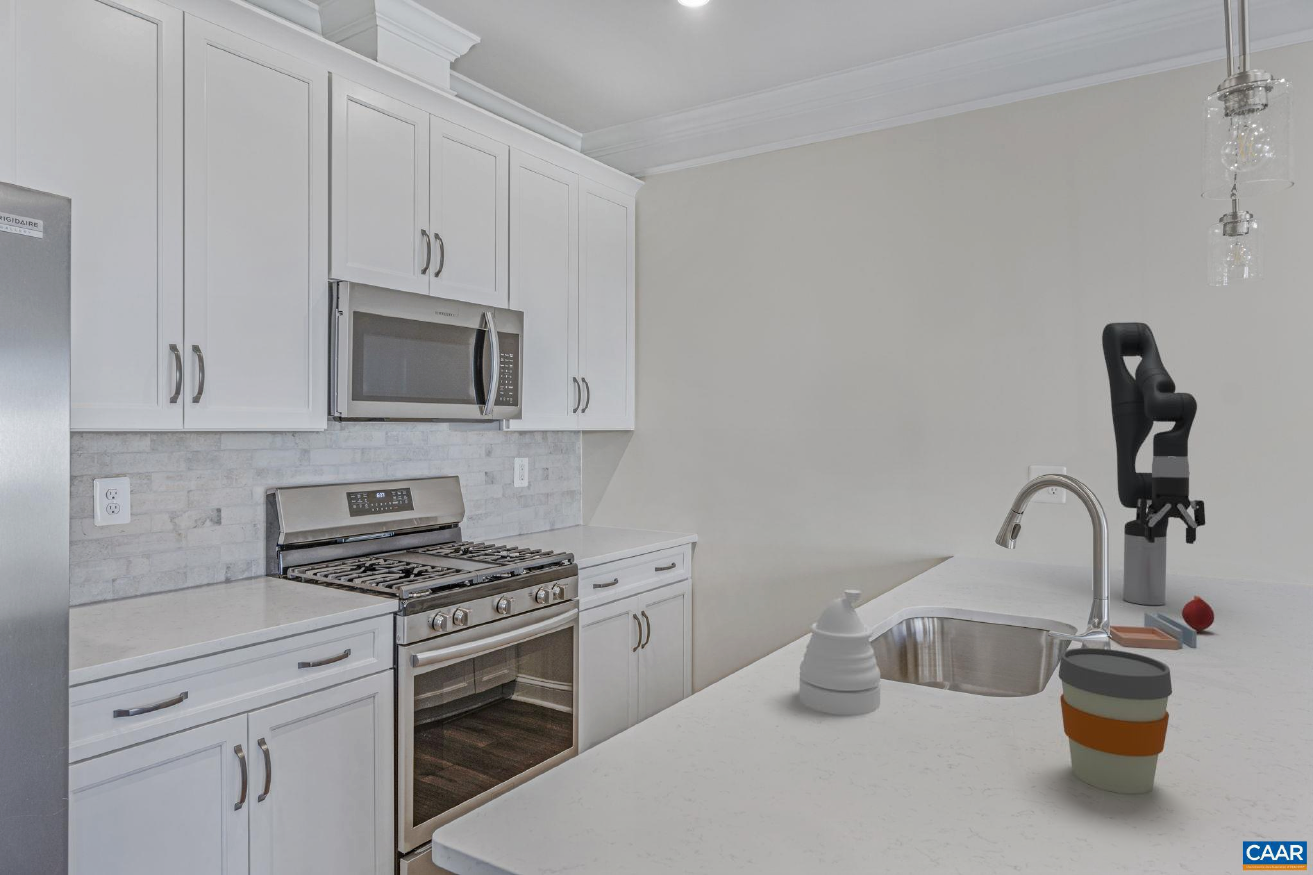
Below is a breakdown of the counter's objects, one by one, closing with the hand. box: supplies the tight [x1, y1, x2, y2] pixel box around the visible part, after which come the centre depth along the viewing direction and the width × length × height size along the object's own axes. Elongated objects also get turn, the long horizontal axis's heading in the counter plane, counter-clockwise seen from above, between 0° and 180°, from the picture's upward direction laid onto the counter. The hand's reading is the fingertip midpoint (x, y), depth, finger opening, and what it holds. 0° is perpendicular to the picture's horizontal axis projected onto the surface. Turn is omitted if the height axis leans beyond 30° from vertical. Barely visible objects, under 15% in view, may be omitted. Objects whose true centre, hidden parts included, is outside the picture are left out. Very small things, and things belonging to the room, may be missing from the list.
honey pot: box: [798, 589, 881, 716], centre depth 128 cm, size 13×13×18 cm
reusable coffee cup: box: [1058, 647, 1173, 795], centre depth 101 cm, size 13×13×15 cm
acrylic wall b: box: [1143, 612, 1184, 649], centre depth 168 cm, size 16×1×4 cm, turn 170°
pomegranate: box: [1181, 595, 1215, 633], centre depth 173 cm, size 6×6×8 cm
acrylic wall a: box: [1156, 611, 1198, 649], centre depth 168 cm, size 16×1×4 cm, turn 170°
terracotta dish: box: [1110, 625, 1179, 650], centre depth 165 cm, size 10×10×2 cm
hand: (1170, 542), depth 189 cm, fingers open, 8 cm apart
